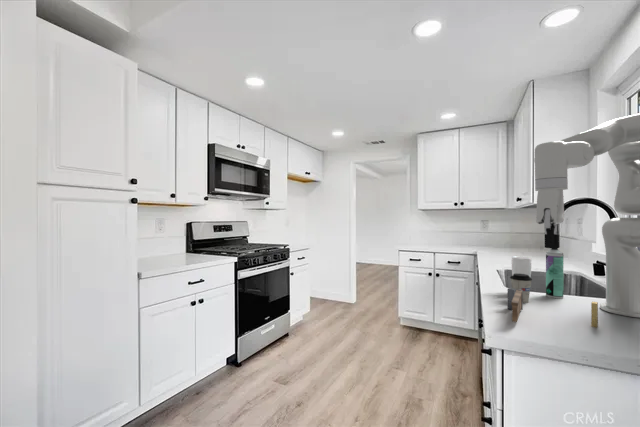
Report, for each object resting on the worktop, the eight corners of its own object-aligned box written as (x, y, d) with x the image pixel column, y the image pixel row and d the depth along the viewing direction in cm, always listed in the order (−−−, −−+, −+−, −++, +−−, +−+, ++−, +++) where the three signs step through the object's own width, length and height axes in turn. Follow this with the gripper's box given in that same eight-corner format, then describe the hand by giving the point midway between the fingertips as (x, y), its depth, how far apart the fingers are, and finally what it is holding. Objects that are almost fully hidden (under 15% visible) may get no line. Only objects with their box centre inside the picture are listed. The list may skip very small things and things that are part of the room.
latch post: (592, 325, 89) (592, 301, 89) (597, 326, 88) (597, 302, 88) (591, 326, 87) (591, 302, 87) (596, 327, 87) (596, 303, 87)
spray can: (558, 295, 121) (558, 245, 121) (566, 299, 115) (566, 247, 115) (543, 294, 122) (543, 245, 122) (550, 298, 117) (550, 247, 117)
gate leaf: (516, 307, 103) (516, 288, 103) (522, 308, 102) (522, 289, 102) (510, 324, 88) (510, 301, 88) (518, 325, 87) (518, 302, 87)
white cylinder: (534, 296, 119) (534, 258, 119) (515, 295, 120) (515, 258, 120) (526, 292, 126) (526, 256, 126) (508, 291, 127) (508, 256, 127)
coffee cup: (505, 299, 115) (505, 273, 115) (519, 297, 117) (519, 272, 117) (522, 304, 108) (522, 277, 108) (536, 303, 110) (536, 276, 110)
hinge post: (509, 307, 105) (509, 287, 105) (515, 309, 104) (515, 288, 104) (507, 308, 104) (507, 288, 104) (514, 310, 102) (514, 289, 102)
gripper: (542, 187, 95) (543, 244, 95) (528, 185, 85) (529, 249, 85) (572, 185, 89) (573, 246, 89) (561, 183, 79) (562, 252, 80)
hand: (552, 247), depth 87 cm, fingers closed
